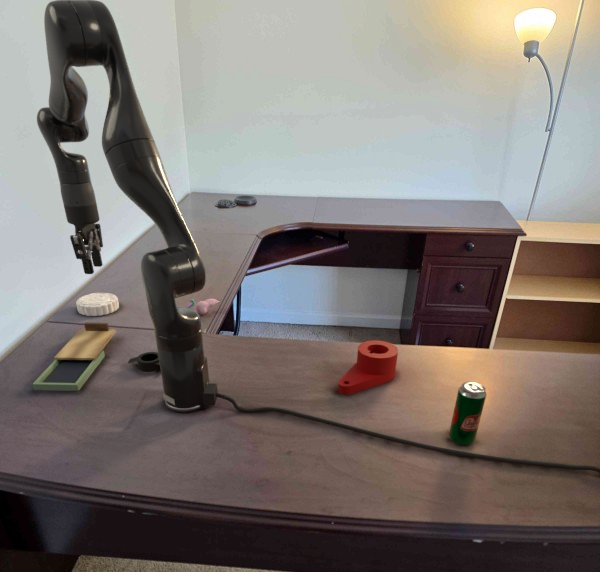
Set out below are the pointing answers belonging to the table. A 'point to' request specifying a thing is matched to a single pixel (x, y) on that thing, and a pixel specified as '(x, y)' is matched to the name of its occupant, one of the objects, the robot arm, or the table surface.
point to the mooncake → (97, 304)
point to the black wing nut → (147, 362)
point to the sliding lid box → (76, 386)
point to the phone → (68, 371)
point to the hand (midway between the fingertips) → (94, 269)
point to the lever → (370, 367)
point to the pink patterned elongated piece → (202, 305)
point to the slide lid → (87, 342)
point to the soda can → (467, 413)
